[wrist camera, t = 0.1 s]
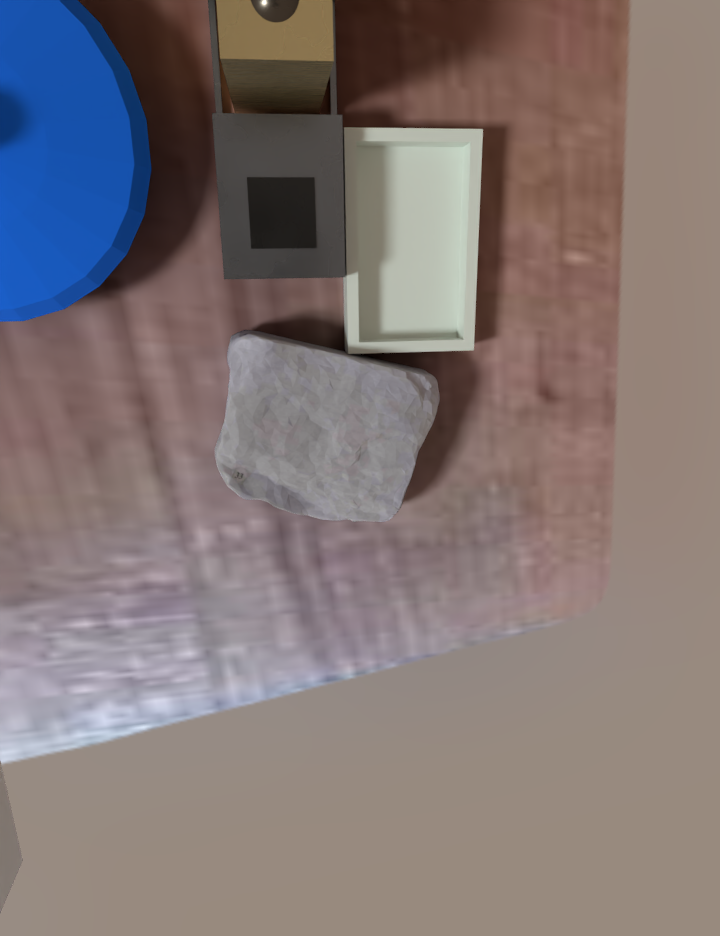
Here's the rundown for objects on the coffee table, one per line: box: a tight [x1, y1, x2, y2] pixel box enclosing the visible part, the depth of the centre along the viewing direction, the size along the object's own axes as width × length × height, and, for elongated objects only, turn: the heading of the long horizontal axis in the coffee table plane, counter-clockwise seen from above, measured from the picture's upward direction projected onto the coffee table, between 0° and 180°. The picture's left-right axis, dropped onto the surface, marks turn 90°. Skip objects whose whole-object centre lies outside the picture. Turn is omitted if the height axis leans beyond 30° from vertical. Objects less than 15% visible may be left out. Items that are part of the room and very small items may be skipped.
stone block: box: [215, 330, 440, 522], centre depth 36 cm, size 12×5×10 cm
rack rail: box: [208, 0, 345, 279], centre depth 30 cm, size 20×6×3 cm, turn 1°
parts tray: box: [343, 127, 483, 354], centre depth 34 cm, size 11×7×2 cm, turn 1°
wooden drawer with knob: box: [216, 0, 334, 115], centre depth 27 cm, size 4×4×9 cm
